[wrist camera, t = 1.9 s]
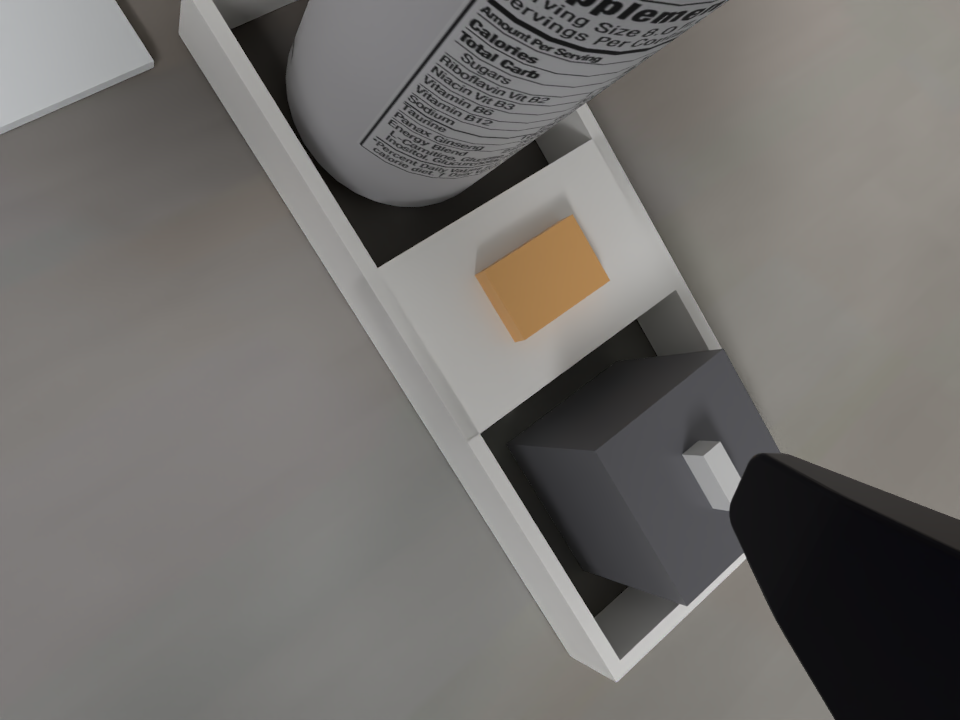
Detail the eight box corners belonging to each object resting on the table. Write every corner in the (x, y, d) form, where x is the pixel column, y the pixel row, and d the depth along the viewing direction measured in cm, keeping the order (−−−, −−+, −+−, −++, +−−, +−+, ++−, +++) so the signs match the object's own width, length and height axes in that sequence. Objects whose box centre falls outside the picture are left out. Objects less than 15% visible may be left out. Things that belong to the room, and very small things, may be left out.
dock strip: (747, 494, 26) (821, 503, 23) (570, 656, 23) (629, 689, 20) (428, -73, 23) (468, -142, 20) (178, 33, 20) (183, -29, 17)
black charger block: (684, 480, 25) (828, 498, 20) (581, 569, 24) (708, 614, 18) (615, 361, 25) (745, 345, 19) (505, 444, 23) (614, 452, 18)
